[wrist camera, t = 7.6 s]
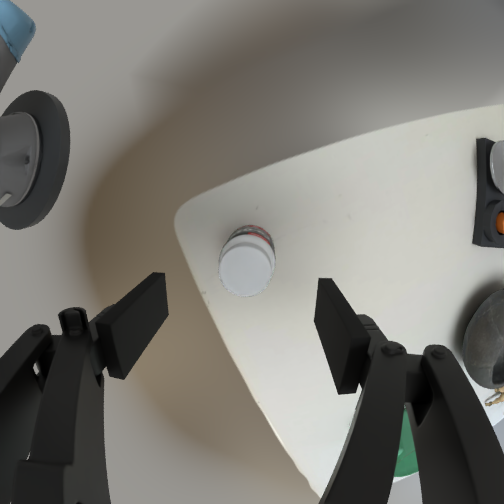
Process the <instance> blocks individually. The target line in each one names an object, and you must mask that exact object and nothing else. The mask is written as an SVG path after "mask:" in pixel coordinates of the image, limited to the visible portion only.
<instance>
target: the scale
mask: <svg viewBox="0 0 504 504" xmlns="http://www.w3.org/2000/svg"><path fill="white" fill-rule="evenodd" d="M476 140H477V165H478V179H477V204H476V217H475V227H474V235H473V244H475V245H478V246H481V247H495V248H504V234H503V233H499V232H498V231H497V229H496V218H497V215H498V214H499V213H501V212H502V213H504V195H503V194H501V193H500V192H499V191H498V189H497V188H496V186H495V184H494V181H493V178H492V175H491V169H490V154H491V150H492V147H493V145H494V144H495V143H496V142H494V141H491V140H489V139H487V138H480V139H476Z"/></svg>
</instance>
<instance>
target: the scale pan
mask: <svg viewBox="0 0 504 504" xmlns="http://www.w3.org/2000/svg"><path fill="white" fill-rule="evenodd" d="M490 169H491V175H492V178H493V181H494V184H495V186H496V188H497V189H498V191H499V192H500V193H501V194H503V195H504V141H497V142H496V143H495V144H494V145H493V147H492V150H491V154H490Z"/></svg>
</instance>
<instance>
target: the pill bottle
mask: <svg viewBox="0 0 504 504" xmlns="http://www.w3.org/2000/svg"><path fill="white" fill-rule="evenodd" d="M275 265H276V258H275V251H274V244H273V240H272V238H271V236H270V235H269V233H268V232H267V231H266V230H264V229H263V228H261V227H258V226H254V225H247V226H243V227H241V228H239V229H237V230H236V231H235V232H234V233H233V234H232V235H231V237H230V238H229V240H228V241H227V243H226V244H225V246H224V247H223V249H222V251H221V254H220V257H219V278H220V281H221V283H222V284H223V286H224V287H225V288H226V289H227V290H228V291H229V292H231V293H232V294H234V295H237V296H241V297H250V296H254V295H257V294H259V293H260V292H262V291H263V290H264V289H265V288H266V287H267V286H268V284H269V282H270V279H271V277H272V275H273V273H274V270H275Z"/></svg>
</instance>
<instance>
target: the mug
mask: <svg viewBox="0 0 504 504" xmlns="http://www.w3.org/2000/svg"><path fill="white" fill-rule="evenodd" d="M418 471H419V470H418V464H417V458H416V452H415V447H414V442H413V437H412V432H411V427H410V423H409V419H408V414H407V410H406V409H404V414H403V423H402V431H401V439H400V445H399V452H398V457H397V463H396V468H395V473H394V477H403V476H408V475H411V474H413V473H416V472H418Z"/></svg>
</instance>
